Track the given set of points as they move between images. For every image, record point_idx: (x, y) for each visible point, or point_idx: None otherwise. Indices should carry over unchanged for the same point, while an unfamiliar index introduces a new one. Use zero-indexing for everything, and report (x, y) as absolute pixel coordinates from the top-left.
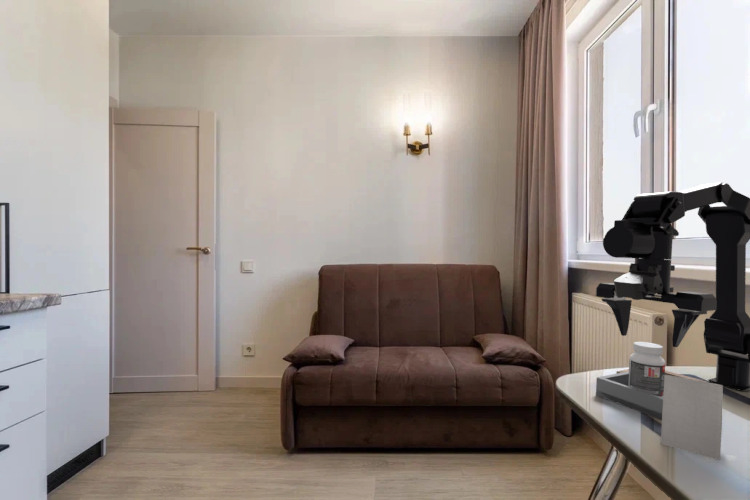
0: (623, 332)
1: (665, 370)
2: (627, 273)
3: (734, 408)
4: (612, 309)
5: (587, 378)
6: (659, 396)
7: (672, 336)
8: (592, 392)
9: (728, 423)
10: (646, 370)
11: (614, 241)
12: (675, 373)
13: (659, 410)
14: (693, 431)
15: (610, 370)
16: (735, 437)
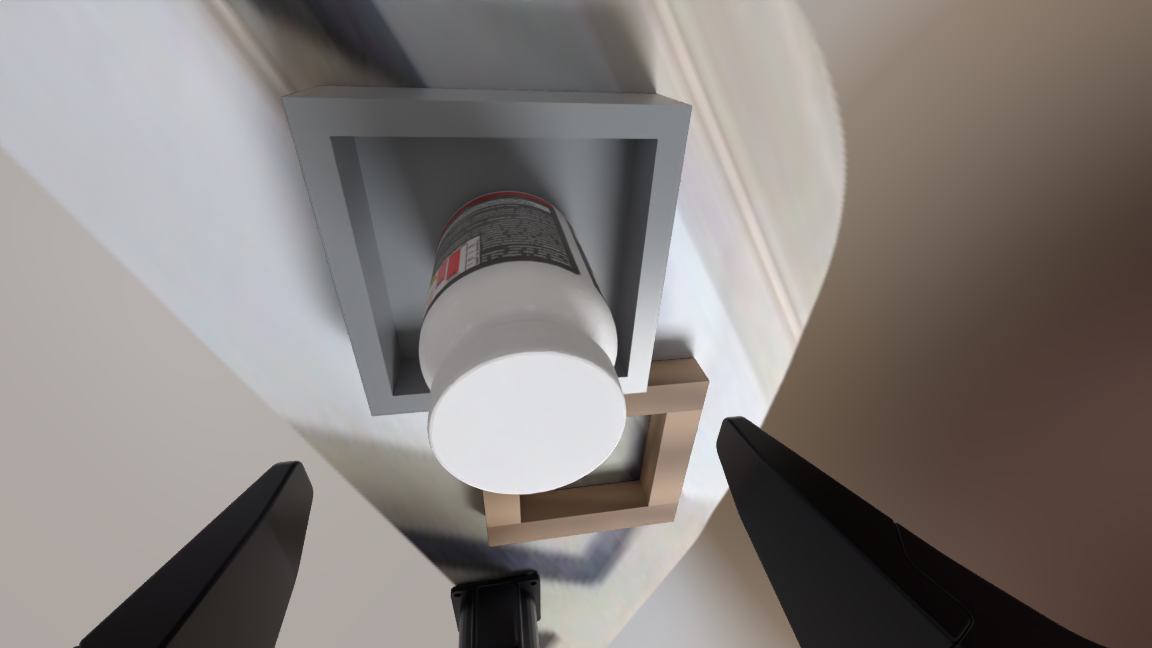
0: (737, 437)
1: (618, 528)
2: None
3: (362, 469)
4: (1047, 621)
5: (773, 273)
6: (331, 133)
7: (244, 538)
8: None
9: (247, 331)
10: (468, 257)
11: None
12: (585, 530)
13: (322, 89)
14: None
15: None
16: (100, 210)
